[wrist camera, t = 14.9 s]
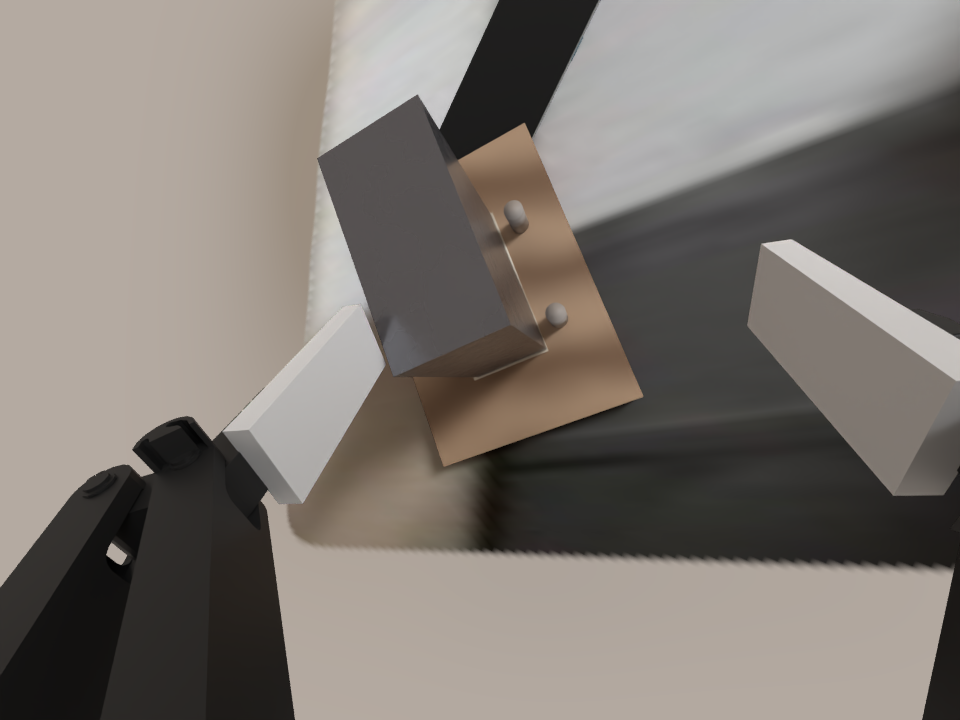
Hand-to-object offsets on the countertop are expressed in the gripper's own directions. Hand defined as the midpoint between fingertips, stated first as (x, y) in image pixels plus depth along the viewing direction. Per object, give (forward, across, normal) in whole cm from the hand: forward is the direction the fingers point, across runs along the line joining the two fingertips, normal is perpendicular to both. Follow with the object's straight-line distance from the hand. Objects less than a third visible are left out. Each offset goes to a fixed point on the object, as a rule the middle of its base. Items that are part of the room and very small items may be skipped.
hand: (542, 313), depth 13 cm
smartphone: (+24, -1, +8) cm, 25 cm away
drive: (+12, -5, -4) cm, 14 cm away
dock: (+14, -5, -5) cm, 15 cm away
